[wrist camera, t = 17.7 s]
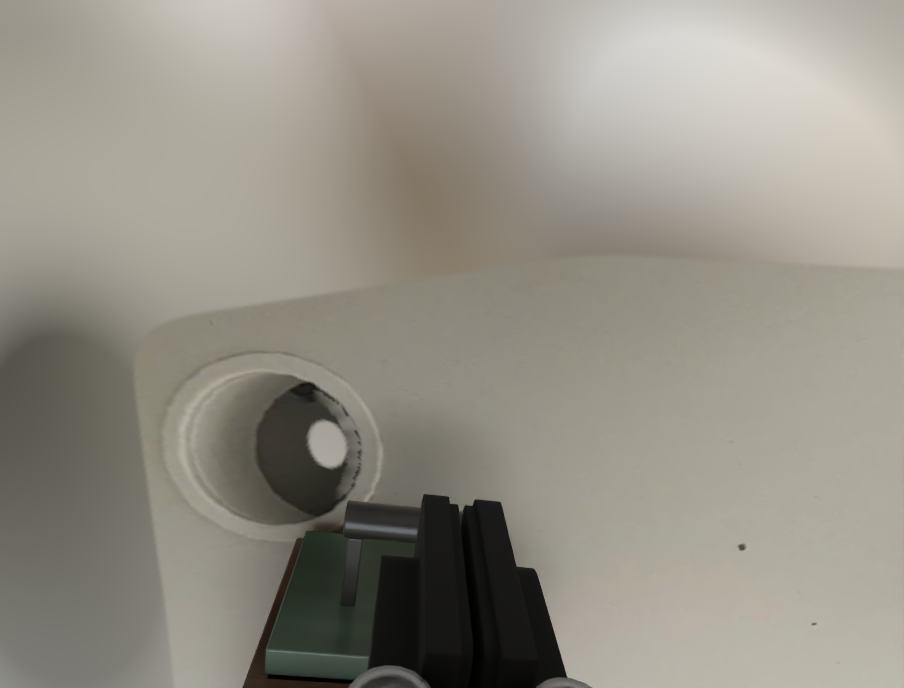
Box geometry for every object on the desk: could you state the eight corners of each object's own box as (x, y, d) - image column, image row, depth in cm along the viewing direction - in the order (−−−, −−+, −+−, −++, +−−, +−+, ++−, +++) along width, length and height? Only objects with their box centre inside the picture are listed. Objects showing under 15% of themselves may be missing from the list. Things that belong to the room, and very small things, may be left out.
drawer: (314, 445, 25) (273, 540, 18) (524, 468, 26) (561, 567, 19) (289, 720, 30) (248, 881, 23) (470, 731, 31) (484, 889, 24)
